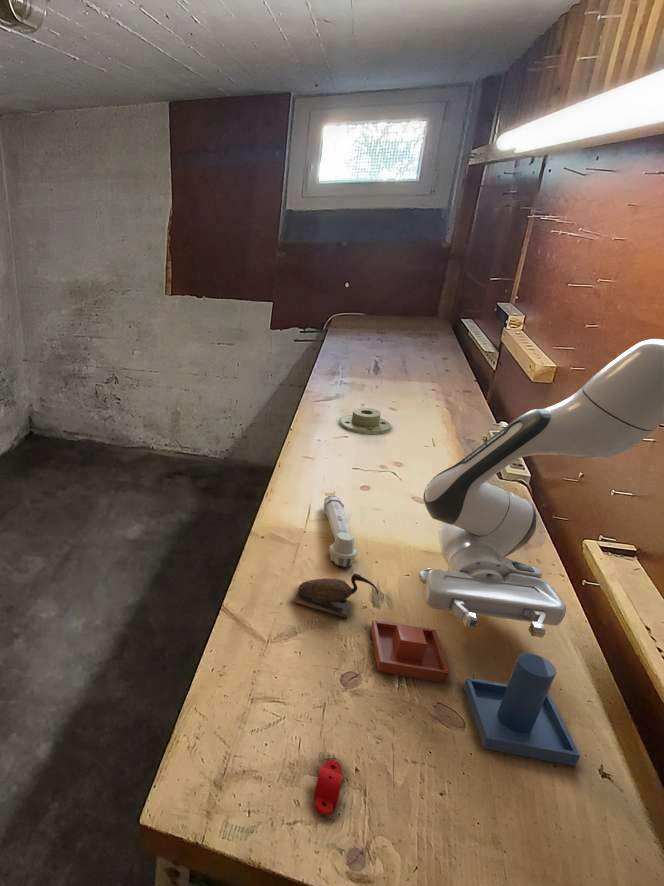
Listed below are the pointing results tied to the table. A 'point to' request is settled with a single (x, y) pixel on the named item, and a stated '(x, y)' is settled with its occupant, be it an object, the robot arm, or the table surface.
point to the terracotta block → (409, 643)
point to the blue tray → (539, 743)
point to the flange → (365, 422)
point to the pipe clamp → (328, 787)
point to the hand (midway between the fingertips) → (505, 628)
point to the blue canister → (526, 692)
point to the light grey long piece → (339, 533)
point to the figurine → (328, 594)
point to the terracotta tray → (388, 663)
